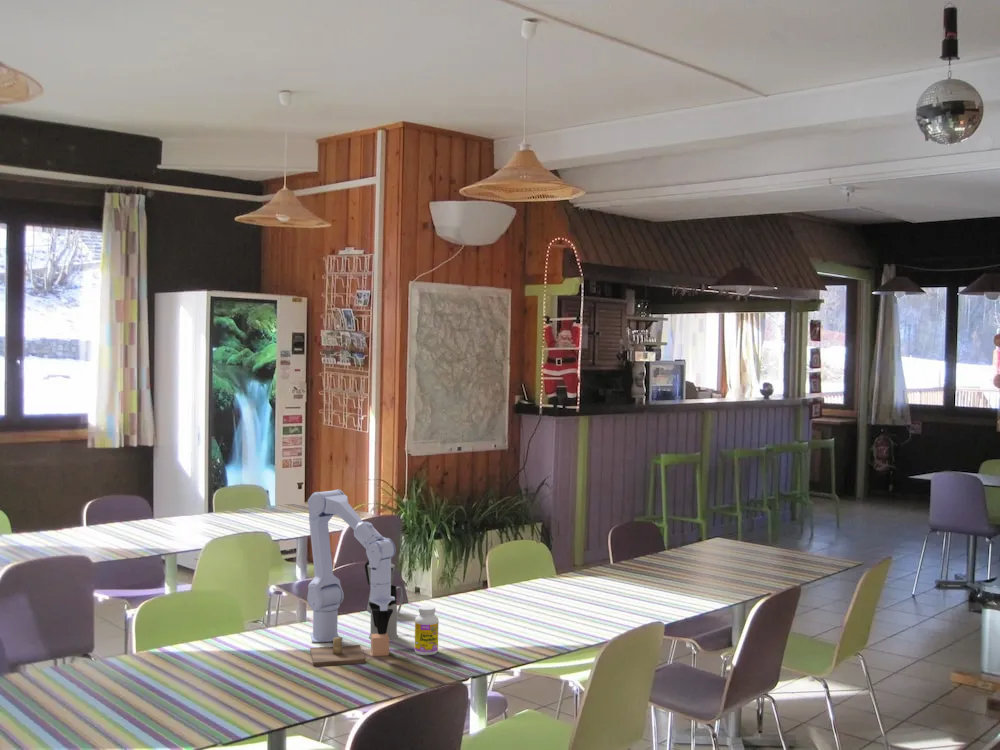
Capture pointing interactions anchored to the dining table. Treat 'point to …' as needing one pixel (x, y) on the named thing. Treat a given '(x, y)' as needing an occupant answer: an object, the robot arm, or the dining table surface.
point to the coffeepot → (368, 574)
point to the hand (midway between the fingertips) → (380, 630)
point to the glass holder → (393, 618)
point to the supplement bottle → (426, 631)
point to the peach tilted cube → (379, 644)
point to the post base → (337, 654)
